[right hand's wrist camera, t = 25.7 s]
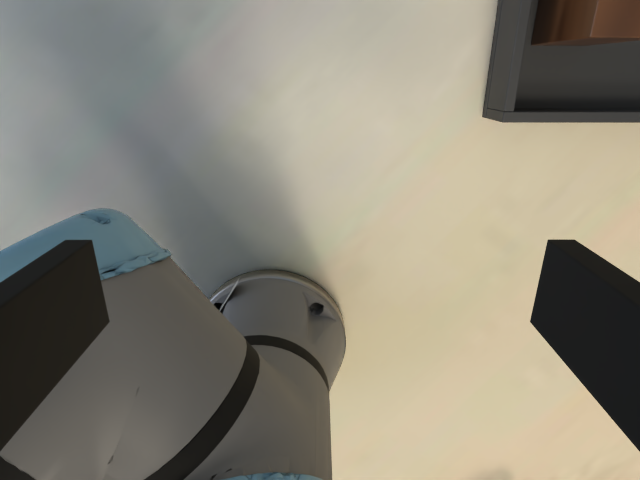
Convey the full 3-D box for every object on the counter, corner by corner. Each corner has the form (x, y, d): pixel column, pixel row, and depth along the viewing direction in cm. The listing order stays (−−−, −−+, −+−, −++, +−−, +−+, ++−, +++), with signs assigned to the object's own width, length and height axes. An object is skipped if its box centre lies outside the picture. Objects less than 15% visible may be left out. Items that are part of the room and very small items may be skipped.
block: (600, -20, 32) (685, -48, 24) (586, 45, 34) (662, 37, 26) (541, -20, 32) (608, -49, 24) (530, 45, 34) (590, 37, 26)
